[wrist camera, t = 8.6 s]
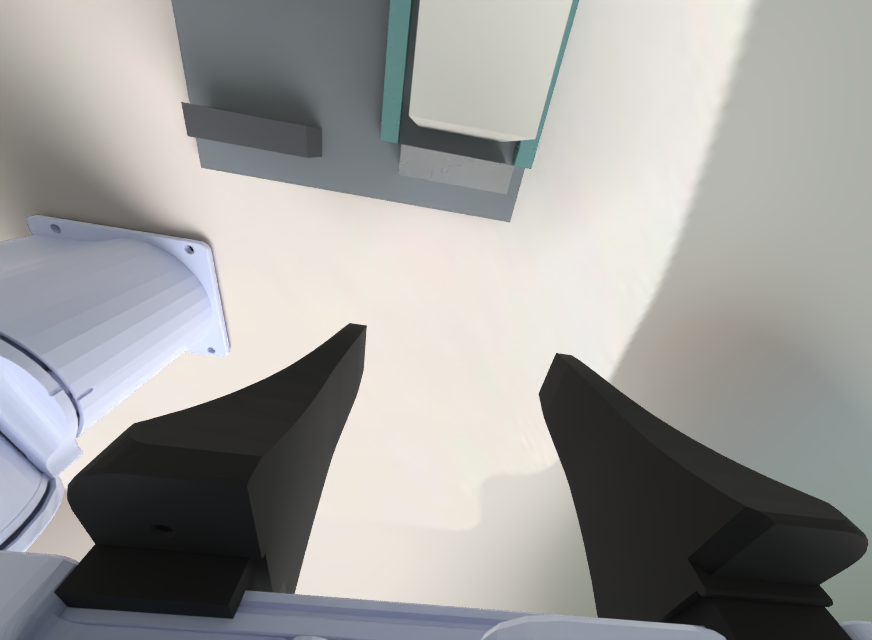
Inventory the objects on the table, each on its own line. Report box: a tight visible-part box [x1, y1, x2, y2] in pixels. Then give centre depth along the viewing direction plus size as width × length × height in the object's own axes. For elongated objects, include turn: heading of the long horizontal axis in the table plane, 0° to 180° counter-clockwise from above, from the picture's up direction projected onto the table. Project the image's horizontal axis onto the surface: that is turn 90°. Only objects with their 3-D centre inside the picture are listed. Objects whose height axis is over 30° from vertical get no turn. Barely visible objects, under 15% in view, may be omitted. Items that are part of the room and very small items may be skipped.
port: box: [380, 0, 579, 195], centre depth 13 cm, size 7×9×2 cm
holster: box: [181, 102, 322, 158], centre depth 12 cm, size 5×9×2 cm, turn 170°
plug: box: [409, 0, 573, 142], centre depth 11 cm, size 4×5×6 cm
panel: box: [172, 0, 525, 222], centre depth 14 cm, size 16×12×1 cm
